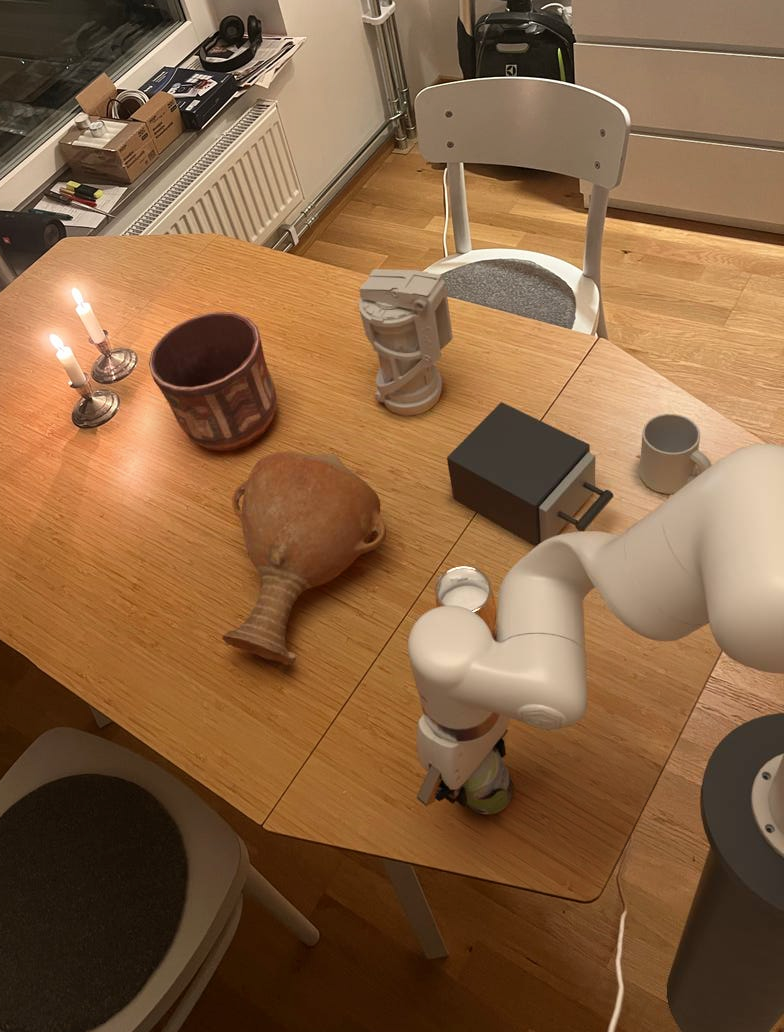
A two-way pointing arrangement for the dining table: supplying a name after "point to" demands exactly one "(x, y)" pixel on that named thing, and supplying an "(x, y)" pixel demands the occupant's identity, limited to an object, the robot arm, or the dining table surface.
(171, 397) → the pottery
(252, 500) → the jug
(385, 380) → the lantern
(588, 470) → the drawer
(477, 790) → the beverage can
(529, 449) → the cabinet
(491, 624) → the beer glass
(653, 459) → the cup
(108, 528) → the dining table surface
